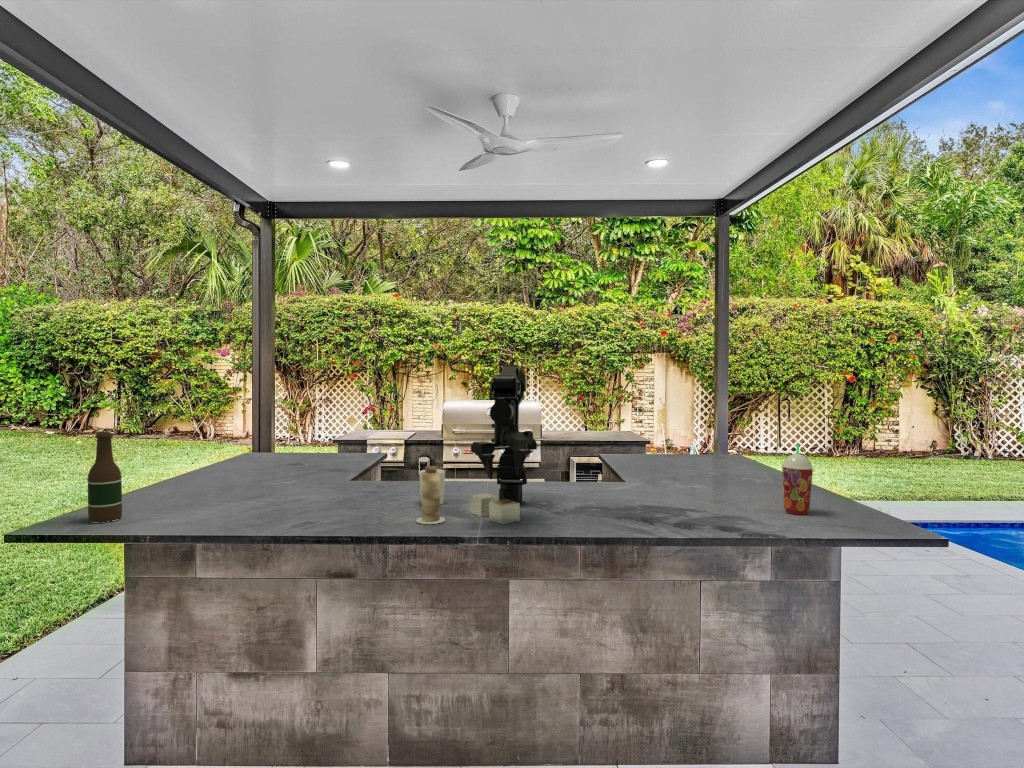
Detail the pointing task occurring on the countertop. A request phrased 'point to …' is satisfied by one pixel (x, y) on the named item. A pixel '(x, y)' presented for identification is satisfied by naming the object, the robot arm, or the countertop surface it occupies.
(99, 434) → the beer bottle
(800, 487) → the smoothie
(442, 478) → the white cup
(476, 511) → the spice tin
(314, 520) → the countertop surface
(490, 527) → the countertop surface
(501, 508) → the spice tin
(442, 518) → the coaster
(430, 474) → the pepper mill
